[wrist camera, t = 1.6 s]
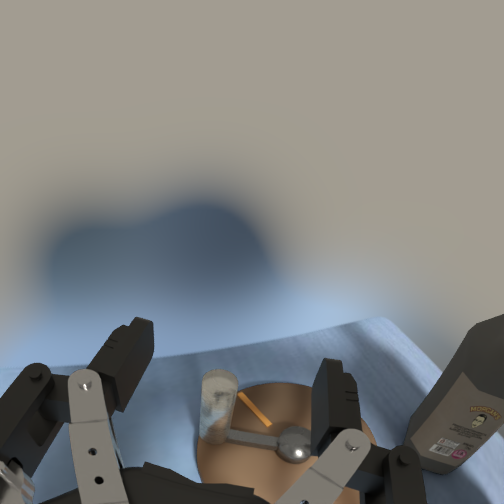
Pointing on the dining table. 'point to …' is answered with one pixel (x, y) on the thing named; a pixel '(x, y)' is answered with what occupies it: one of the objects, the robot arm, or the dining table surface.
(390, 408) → the dining table surface
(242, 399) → the round wooden board
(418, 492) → the robot arm
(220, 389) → the silver bent piece
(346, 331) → the dining table surface
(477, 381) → the liquor
